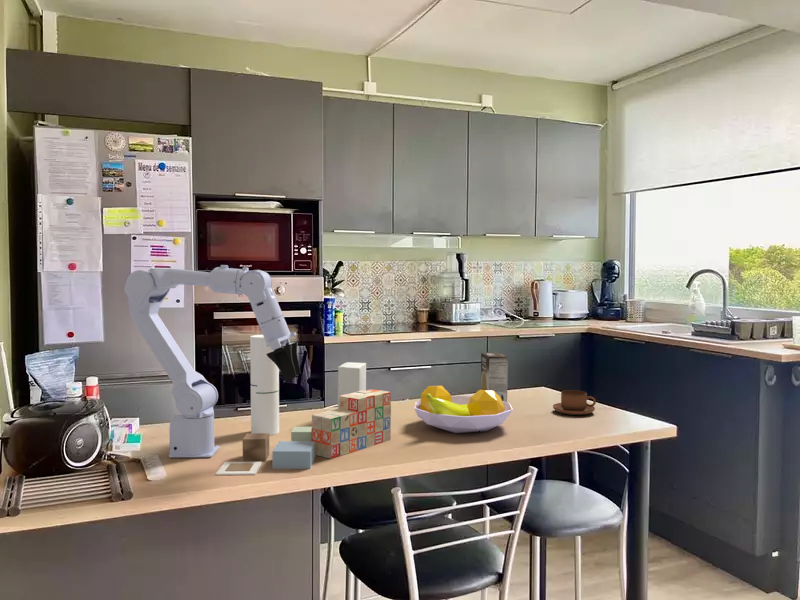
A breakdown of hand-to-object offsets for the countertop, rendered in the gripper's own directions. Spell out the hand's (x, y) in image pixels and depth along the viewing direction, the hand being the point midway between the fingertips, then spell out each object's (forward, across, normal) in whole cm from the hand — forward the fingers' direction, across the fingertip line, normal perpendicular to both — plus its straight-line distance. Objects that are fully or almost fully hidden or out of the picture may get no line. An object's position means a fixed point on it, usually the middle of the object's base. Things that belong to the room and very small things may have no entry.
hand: (294, 377), depth 146 cm
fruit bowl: (+31, +28, -31) cm, 52 cm away
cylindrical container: (+12, +23, +16) cm, 31 cm away
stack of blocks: (+21, +9, -5) cm, 24 cm away
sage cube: (+17, +6, +6) cm, 19 cm away
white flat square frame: (+13, -8, +17) cm, 23 cm away
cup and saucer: (+44, +45, -65) cm, 90 cm away
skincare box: (+19, +37, -4) cm, 42 cm away
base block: (+18, -4, +6) cm, 19 cm away
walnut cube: (+14, 0, +15) cm, 20 cm away
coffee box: (+34, +55, -44) cm, 78 cm away
